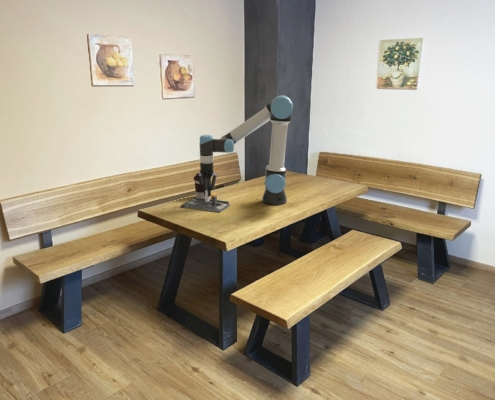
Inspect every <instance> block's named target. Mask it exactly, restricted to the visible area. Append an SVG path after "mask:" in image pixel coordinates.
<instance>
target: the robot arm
mask: <svg viewBox="0 0 495 400" xmlns="http://www.w3.org/2000/svg"><path fill="white" fill-rule="evenodd" d="M293 109H294V104H293V102H292V100H291V98H290V97H289V96H287V95H285V94H278V95H276V96H275V97H274V98H273V99H271V101H269V102H268V103H267V104H266V105H264V108H263V109H261V110H260V111H258V112H257V113H255V114H254V115H252V116H251V117H249V118H248V119H247V120H245V121H244V122H242V123H241V124H240V125H238V126H236V127H235V128H234V129H231V130H230V131H229V132H227V134H223V136H221V137H220V138H218V139H217V138H213V135H211V134H202V135H200V137H199V162H200V163H199V170H200V171H199V172H198V173H196V174H195V176H196V175H197V176H198V179H199V183H200V187H201V189H202V190H204V196H205V202H208V201H210V199H211V194H212V191H213V190H214V189H215V185H216V180H217V178H218V177H219V176H218V174H217V173H215V171H214V153H226V154H228V153H234V150H235V144H237V143H239V142H240V141H241V140H242V139H245V138H246V137H247V136H249V135H250V134H252V133H253V132H255V131H256V130H258V129H259V128H260V127H262V126H264V125H265V124H267V123H269V122H271V124H272V125H271V137H270V138H271V139H270V149H269V162H268V164H267V165H266V166H265V176H264V177H265V178H264V186H265V187H264V192H263V194H262V197H261V199H262V203H264V204H265V205H271V206H274V205H275V206H279V205H280V206H281V205H284V204H286V203H287V194H286V191H285V187H286V185H287V184H286V183H287V182H286V179H287V178H286V177H287V168H286V167H285V161H286V158H285V157H286V148H287V136H288V129H289V127H288V126H289V124H290V123H291V122H292V116H293V115H292V114H293V111H294V110H293ZM201 175H202V176H203V179H202V176H201Z"/></svg>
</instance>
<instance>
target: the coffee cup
mask: <svg viewBox="0 0 495 400" xmlns="http://www.w3.org/2000/svg"><path fill="white" fill-rule="evenodd" d="M201 176H202V175H201ZM202 179H203V176H202ZM193 181H194V187H195V188H194V189H195V196H196V198H205V196H204V190H202V189H201V187H200V183H199V179H198V176H197V175H196V174H195V176H193Z"/></svg>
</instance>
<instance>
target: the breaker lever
mask: <svg viewBox="0 0 495 400" xmlns="http://www.w3.org/2000/svg"><path fill="white" fill-rule="evenodd" d="M217 196H218V193H217V192H213V193H211V196H210V199H211V205H214V206H216V205H217V200H218V198H217Z"/></svg>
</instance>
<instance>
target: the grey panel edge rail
mask: <svg viewBox="0 0 495 400" xmlns="http://www.w3.org/2000/svg"><path fill="white" fill-rule="evenodd" d="M192 200H194V199H193V198H191V199H190V200H188V202H191V201H192ZM188 202H187V201H186V202H184V203H182V204H181V205H180V208H182V209H183V208H184V205H185V204H187V203H188ZM184 209H185V208H184Z"/></svg>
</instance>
